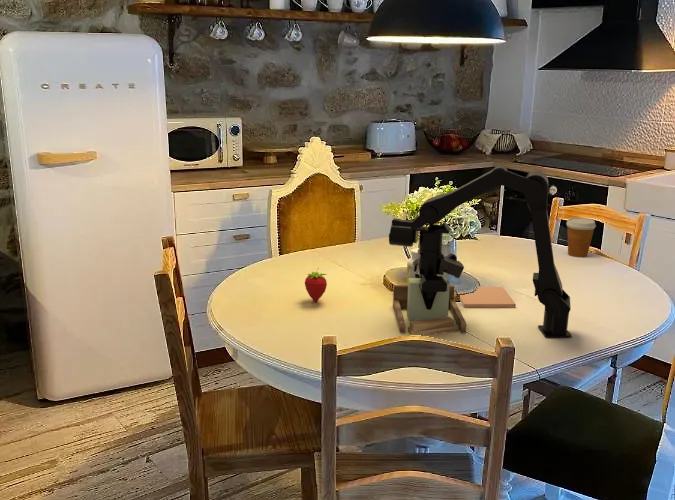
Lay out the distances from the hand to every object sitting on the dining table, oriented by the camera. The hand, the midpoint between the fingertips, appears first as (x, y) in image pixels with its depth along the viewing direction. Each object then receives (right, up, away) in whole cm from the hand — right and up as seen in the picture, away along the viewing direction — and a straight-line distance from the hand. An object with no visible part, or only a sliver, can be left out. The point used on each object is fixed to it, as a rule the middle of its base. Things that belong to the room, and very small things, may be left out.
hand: (427, 306), depth 174 cm
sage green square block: (0, -3, +1) cm, 3 cm away
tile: (+18, +1, +15) cm, 23 cm away
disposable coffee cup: (+59, +13, +57) cm, 83 cm away
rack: (0, -3, +1) cm, 3 cm away
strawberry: (-29, 0, +11) cm, 31 cm away
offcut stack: (0, -6, -8) cm, 10 cm away
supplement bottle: (0, +2, +18) cm, 18 cm away
